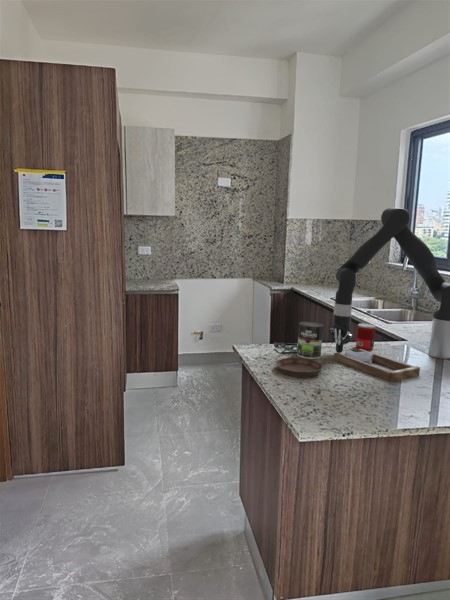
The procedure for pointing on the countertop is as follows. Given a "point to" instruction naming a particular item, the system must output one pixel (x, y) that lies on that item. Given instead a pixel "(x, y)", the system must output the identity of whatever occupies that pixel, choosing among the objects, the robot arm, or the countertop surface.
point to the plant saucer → (299, 367)
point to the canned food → (365, 336)
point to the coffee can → (310, 340)
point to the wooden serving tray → (400, 374)
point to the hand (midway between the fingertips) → (338, 352)
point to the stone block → (360, 356)
